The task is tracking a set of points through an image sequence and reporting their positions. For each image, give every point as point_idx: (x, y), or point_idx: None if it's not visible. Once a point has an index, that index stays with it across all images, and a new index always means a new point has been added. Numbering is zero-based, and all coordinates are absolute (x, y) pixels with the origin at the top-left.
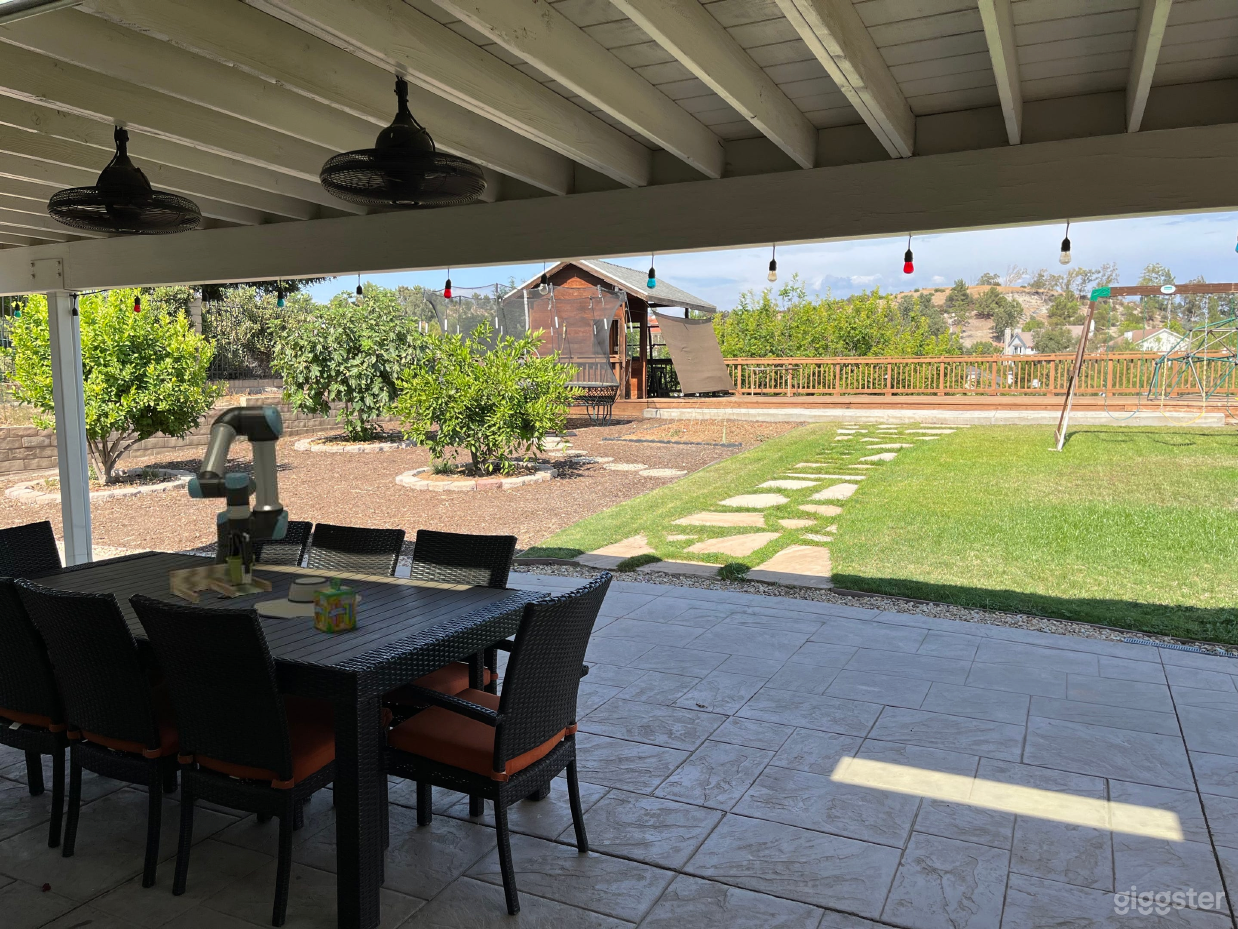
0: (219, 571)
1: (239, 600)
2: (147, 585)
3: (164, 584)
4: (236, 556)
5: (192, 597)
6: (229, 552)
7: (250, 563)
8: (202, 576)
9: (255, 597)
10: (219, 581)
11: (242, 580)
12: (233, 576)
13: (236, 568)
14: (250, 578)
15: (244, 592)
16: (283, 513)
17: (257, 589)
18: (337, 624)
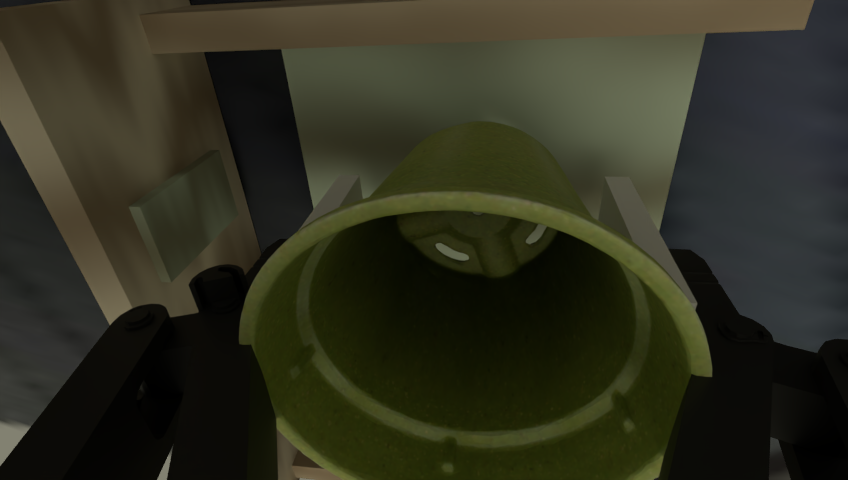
0: (186, 308)
1: (793, 306)
2: (15, 415)
3: (15, 372)
4: (264, 367)
5: None
6: (165, 459)
7: (804, 355)
8: None
9: (835, 195)
10: (232, 259)
11: None
12: (501, 318)
13: (559, 377)
14: (639, 201)
15: (598, 198)
16: None
17: (581, 70)
18: None
